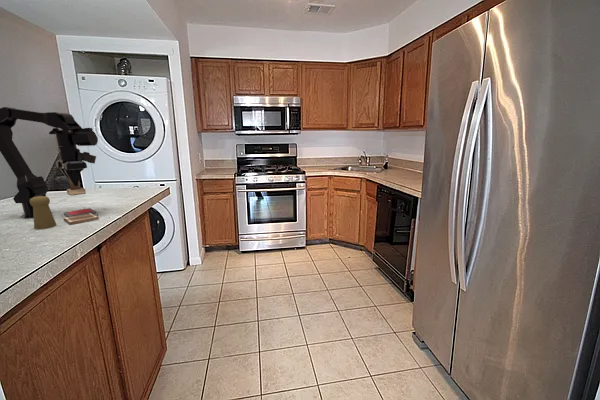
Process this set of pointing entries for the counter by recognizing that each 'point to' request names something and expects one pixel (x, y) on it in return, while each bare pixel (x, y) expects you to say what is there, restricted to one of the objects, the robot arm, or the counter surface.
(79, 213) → the ink pad
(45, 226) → the cork
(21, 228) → the counter surface
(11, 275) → the counter surface
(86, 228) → the counter surface
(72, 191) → the wooden stamp
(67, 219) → the stamp board
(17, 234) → the counter surface
